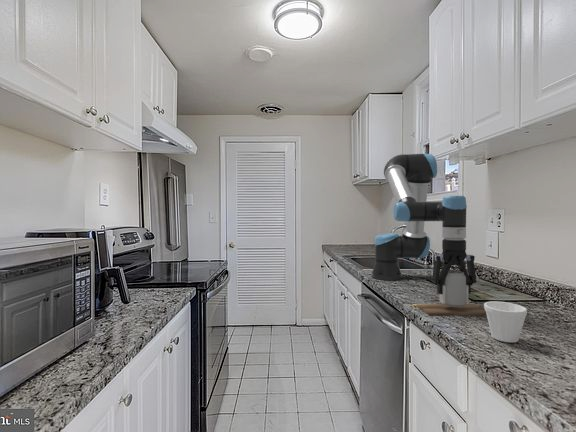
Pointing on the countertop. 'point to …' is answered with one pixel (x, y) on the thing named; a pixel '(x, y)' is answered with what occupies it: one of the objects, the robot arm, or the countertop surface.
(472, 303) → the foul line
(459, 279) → the can
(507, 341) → the cup
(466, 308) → the board
